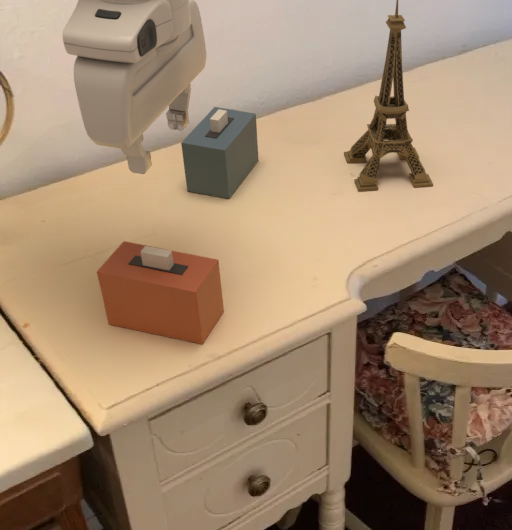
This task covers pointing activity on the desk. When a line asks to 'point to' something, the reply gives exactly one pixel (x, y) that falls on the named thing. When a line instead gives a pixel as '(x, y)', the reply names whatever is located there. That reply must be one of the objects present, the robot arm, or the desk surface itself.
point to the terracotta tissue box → (161, 291)
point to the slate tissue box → (220, 152)
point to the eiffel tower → (386, 108)
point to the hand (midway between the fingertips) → (160, 147)
